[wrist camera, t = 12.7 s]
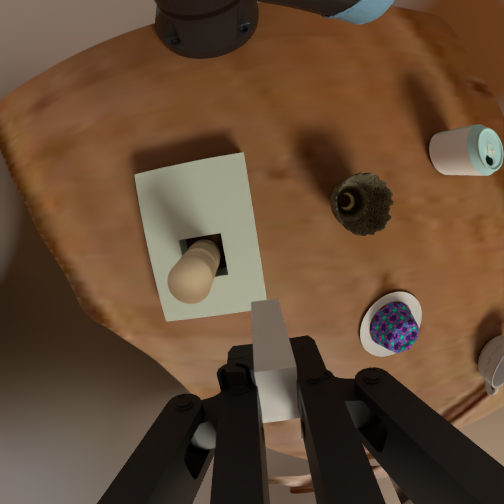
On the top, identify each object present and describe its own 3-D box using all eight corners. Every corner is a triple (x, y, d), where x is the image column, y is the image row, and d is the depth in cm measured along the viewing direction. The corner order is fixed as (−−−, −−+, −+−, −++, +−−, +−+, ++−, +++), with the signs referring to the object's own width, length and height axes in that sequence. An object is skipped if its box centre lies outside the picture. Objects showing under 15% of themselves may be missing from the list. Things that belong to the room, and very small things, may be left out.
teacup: (484, 329, 46) (506, 345, 38) (508, 329, 46) (529, 343, 39) (459, 384, 49) (477, 403, 41) (485, 380, 49) (502, 396, 41)
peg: (188, 238, 40) (162, 264, 27) (219, 233, 40) (207, 256, 27) (194, 268, 41) (172, 307, 28) (225, 263, 41) (216, 301, 28)
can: (462, 167, 39) (511, 167, 27) (435, 180, 39) (485, 182, 27) (448, 128, 37) (496, 118, 25) (420, 138, 38) (468, 129, 26)
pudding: (373, 365, 46) (384, 382, 41) (346, 317, 44) (358, 333, 39) (426, 327, 45) (441, 340, 40) (407, 275, 43) (423, 286, 38)
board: (144, 175, 38) (134, 174, 34) (243, 155, 38) (243, 152, 34) (172, 310, 43) (166, 321, 39) (265, 297, 42) (267, 307, 39)
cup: (361, 232, 41) (385, 243, 33) (314, 220, 40) (330, 228, 32) (373, 183, 39) (399, 183, 31) (326, 168, 39) (345, 164, 31)
